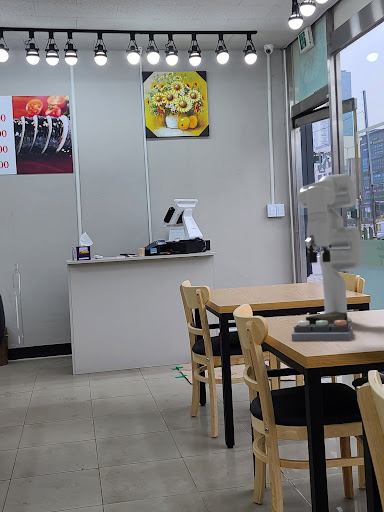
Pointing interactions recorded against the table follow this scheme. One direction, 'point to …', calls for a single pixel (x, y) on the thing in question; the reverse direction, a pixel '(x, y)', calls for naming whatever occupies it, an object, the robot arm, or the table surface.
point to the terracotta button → (340, 323)
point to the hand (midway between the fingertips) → (320, 262)
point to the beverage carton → (327, 317)
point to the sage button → (321, 323)
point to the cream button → (303, 324)
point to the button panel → (322, 332)
